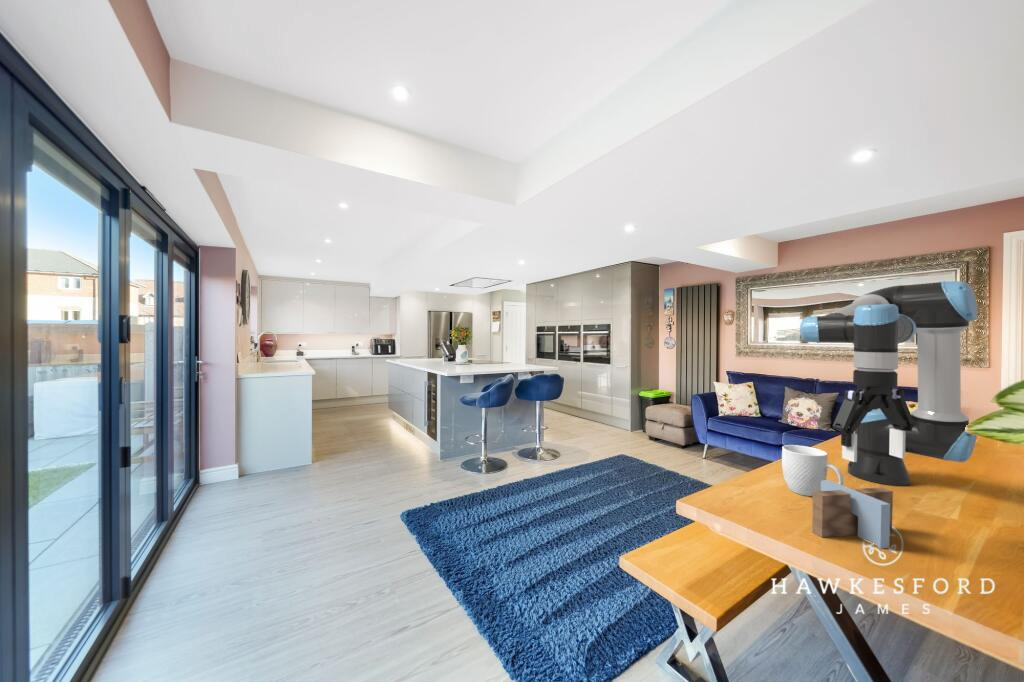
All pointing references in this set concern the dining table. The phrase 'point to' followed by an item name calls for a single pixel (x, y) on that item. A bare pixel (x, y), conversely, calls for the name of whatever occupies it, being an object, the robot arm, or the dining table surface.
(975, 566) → the dining table surface
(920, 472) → the dining table surface
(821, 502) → the walnut slot plate
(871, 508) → the pale blue flat slat
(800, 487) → the mug
